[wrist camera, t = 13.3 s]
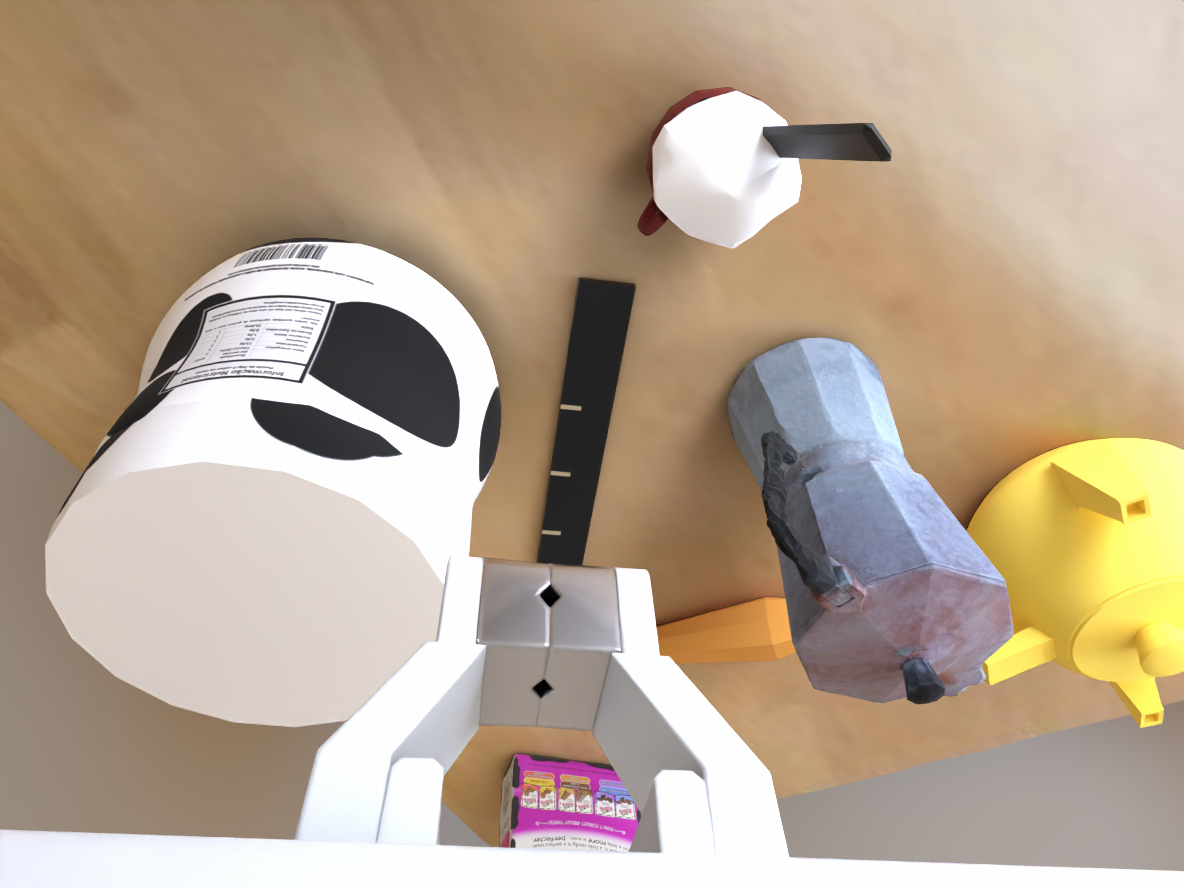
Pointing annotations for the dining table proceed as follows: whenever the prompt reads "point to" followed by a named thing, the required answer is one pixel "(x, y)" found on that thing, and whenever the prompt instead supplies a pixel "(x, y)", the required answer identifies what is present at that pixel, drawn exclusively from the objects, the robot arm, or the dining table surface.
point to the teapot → (1092, 565)
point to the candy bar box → (565, 806)
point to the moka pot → (862, 532)
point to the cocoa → (738, 164)
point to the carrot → (730, 634)
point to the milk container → (282, 487)
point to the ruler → (584, 416)
